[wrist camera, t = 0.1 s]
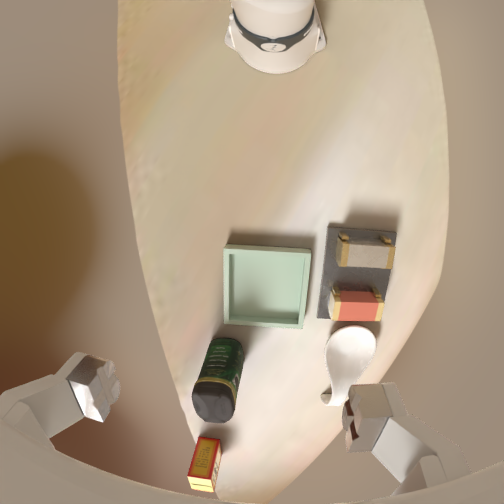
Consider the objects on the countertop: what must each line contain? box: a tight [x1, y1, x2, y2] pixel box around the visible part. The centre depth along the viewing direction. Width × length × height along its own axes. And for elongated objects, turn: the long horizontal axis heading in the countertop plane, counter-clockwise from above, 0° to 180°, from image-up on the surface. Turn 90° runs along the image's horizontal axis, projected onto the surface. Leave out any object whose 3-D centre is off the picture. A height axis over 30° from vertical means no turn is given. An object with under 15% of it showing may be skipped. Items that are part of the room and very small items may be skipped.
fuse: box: [328, 290, 385, 321], centre depth 56 cm, size 4×10×5 cm, turn 88°
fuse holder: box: [317, 227, 397, 319], centre depth 55 cm, size 19×14×6 cm
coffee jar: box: [192, 338, 244, 423], centre depth 57 cm, size 10×8×19 cm
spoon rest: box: [321, 325, 377, 406], centre depth 61 cm, size 24×12×7 cm, turn 175°
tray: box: [224, 244, 311, 329], centre depth 58 cm, size 16×16×3 cm
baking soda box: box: [187, 437, 222, 493], centre depth 71 cm, size 10×6×16 cm
